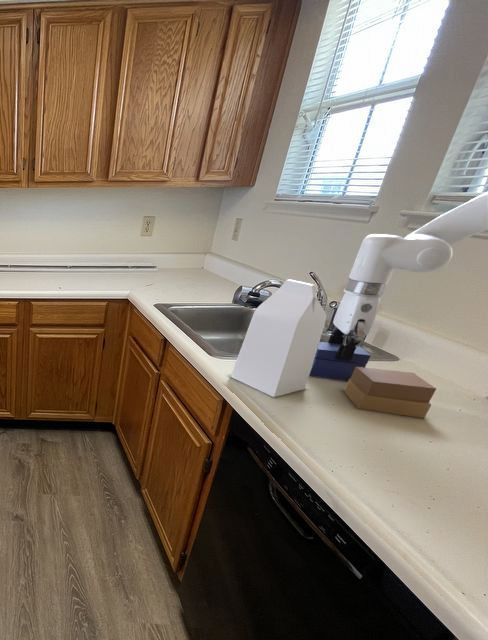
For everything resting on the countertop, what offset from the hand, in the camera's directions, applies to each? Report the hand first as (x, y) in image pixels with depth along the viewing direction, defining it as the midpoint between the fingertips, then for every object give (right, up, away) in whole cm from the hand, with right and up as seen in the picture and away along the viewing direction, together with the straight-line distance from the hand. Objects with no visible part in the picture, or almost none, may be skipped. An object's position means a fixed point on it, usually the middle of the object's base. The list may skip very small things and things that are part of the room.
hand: (337, 354), depth 110 cm
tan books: (0, -12, -12) cm, 17 cm away
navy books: (0, -5, +3) cm, 6 cm away
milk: (-20, -8, -2) cm, 22 cm away
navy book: (0, -1, 0) cm, 1 cm away
